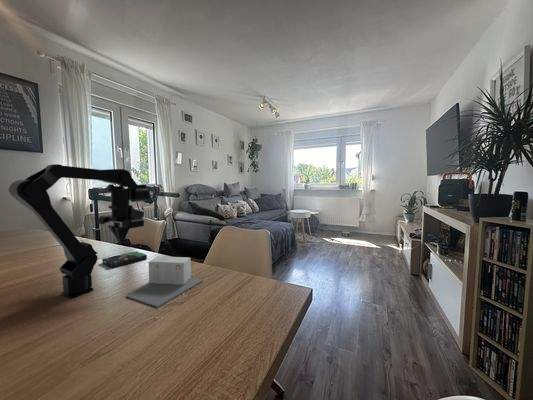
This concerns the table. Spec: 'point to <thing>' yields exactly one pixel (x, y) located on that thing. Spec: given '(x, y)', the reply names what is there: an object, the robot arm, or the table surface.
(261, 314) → the table surface
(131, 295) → the mat
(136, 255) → the disk drive
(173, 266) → the small box
